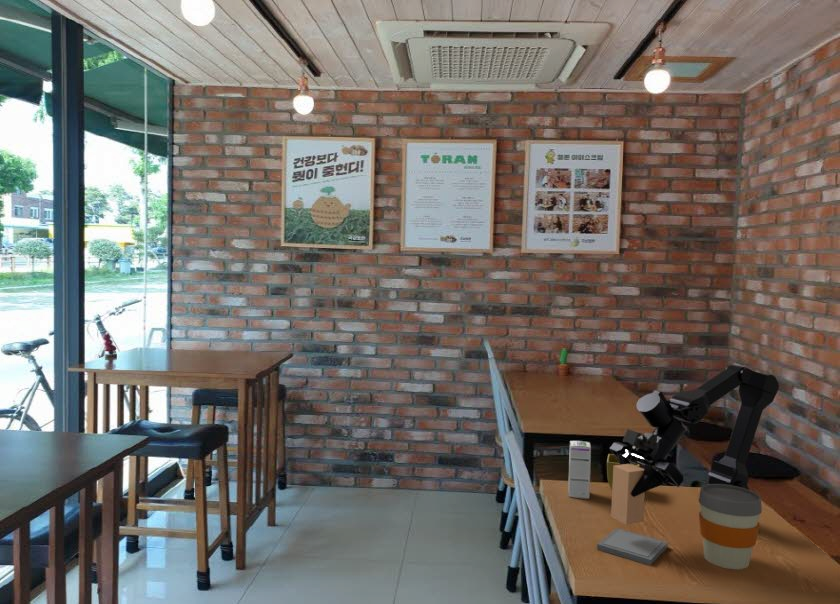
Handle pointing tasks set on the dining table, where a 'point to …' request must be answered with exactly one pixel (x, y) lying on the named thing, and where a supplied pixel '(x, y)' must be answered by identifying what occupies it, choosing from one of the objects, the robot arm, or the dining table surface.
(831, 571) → the dining table surface
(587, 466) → the syrup box
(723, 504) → the reusable coffee cup
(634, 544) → the plate
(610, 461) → the flower pot
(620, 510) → the block
